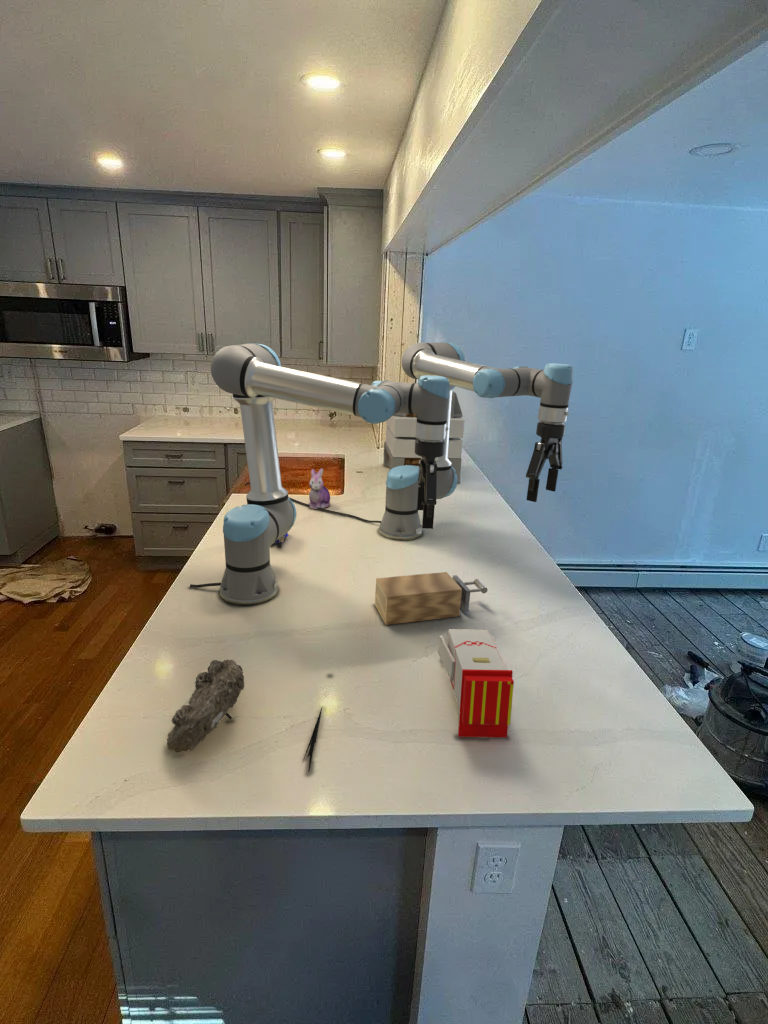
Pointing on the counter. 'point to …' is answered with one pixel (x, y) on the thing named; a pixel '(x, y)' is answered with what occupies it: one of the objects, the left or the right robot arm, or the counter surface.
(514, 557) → the counter surface
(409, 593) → the wooden block
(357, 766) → the counter surface
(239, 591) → the left robot arm
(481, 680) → the toy
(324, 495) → the figurine
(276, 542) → the figurine character
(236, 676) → the fossil
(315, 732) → the feather
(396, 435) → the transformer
